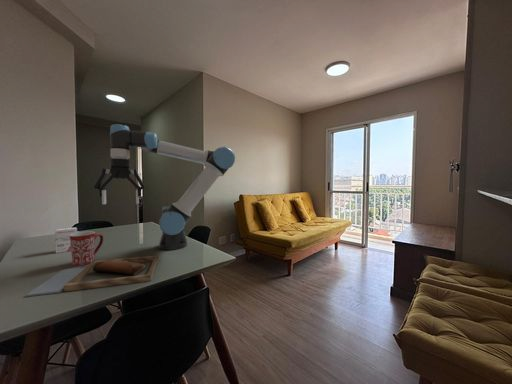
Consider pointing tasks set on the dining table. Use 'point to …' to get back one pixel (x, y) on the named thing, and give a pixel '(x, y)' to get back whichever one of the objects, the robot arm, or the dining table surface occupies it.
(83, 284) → the open square wooden frame
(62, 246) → the ink box
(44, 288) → the felt pad
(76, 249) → the mug
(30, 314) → the dining table surface
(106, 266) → the sunglasses case
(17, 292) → the dining table surface
